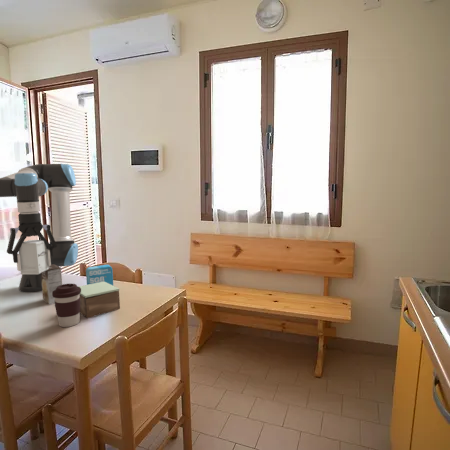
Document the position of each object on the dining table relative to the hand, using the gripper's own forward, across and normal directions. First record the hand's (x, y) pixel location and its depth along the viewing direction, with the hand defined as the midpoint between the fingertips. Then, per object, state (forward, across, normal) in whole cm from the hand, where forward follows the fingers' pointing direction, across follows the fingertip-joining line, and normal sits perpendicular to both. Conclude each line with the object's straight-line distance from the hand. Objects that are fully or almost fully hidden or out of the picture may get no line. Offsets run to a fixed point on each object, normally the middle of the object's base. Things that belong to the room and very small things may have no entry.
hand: (34, 267), depth 132 cm
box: (+20, +20, -10) cm, 30 cm away
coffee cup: (+20, +6, -17) cm, 27 cm away
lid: (+12, +20, -10) cm, 25 cm away
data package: (+21, +32, +14) cm, 40 cm away
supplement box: (+2, 0, 0) cm, 2 cm away
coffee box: (+21, +10, +15) cm, 27 cm away
